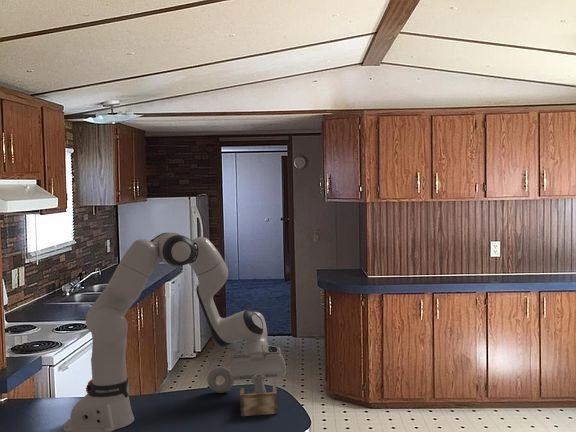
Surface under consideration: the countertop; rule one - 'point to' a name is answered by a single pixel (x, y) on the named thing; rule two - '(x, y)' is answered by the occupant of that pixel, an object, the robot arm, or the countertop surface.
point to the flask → (259, 384)
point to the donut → (214, 384)
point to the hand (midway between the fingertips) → (259, 388)
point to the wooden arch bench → (258, 403)
